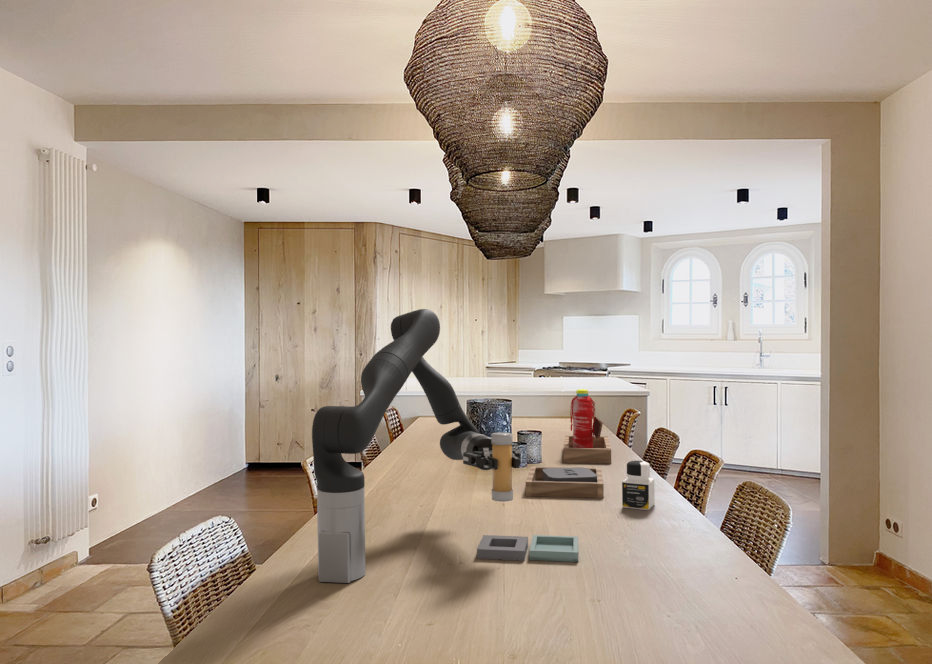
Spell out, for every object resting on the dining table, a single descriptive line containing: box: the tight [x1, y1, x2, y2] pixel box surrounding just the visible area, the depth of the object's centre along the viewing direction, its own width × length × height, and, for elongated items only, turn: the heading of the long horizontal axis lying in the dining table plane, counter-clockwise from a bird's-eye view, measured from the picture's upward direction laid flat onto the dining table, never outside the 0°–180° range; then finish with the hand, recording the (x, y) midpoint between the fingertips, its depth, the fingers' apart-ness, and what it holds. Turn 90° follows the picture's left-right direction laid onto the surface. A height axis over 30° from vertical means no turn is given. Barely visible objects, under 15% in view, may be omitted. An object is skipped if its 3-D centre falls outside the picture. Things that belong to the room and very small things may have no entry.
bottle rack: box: [562, 435, 612, 464], centre depth 261 cm, size 30×17×5 cm, turn 171°
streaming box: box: [542, 466, 597, 482], centre depth 207 cm, size 14×14×5 cm
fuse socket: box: [476, 534, 529, 561], centre depth 149 cm, size 10×10×2 cm
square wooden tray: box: [525, 466, 605, 499], centre depth 208 cm, size 22×22×4 cm
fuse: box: [490, 432, 514, 503], centre depth 149 cm, size 5×5×14 cm
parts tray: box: [529, 534, 579, 563], centre depth 148 cm, size 11×10×2 cm
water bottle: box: [569, 388, 604, 448], centre depth 261 cm, size 12×8×25 cm, turn 80°
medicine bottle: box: [621, 460, 656, 511], centre depth 186 cm, size 7×7×12 cm
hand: (506, 464), depth 146 cm, fingers closed on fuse, 4 cm apart
